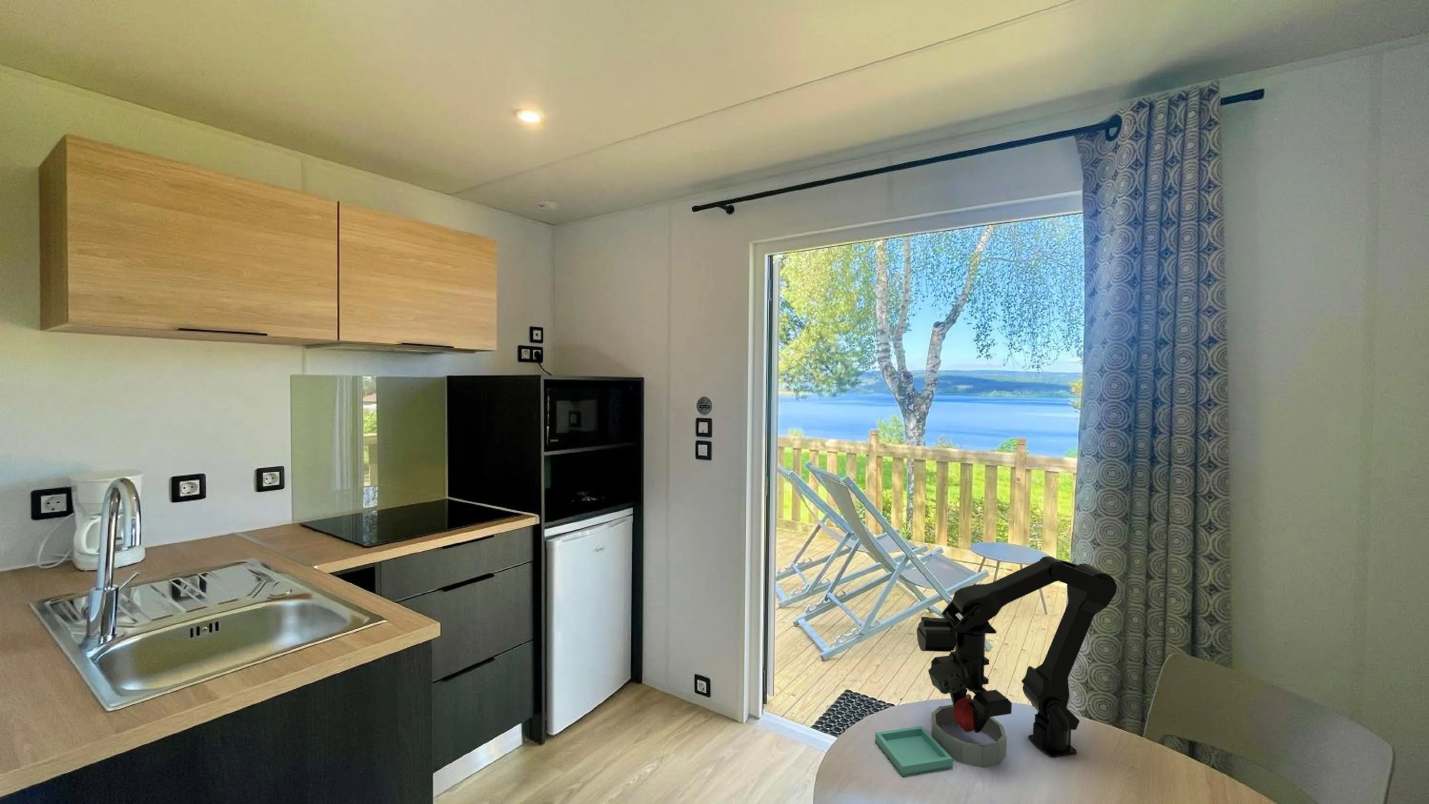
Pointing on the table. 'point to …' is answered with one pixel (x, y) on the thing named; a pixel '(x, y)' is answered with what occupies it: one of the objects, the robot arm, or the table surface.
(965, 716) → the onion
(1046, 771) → the table surface
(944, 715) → the ring
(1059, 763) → the table surface
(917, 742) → the tray
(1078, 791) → the table surface
